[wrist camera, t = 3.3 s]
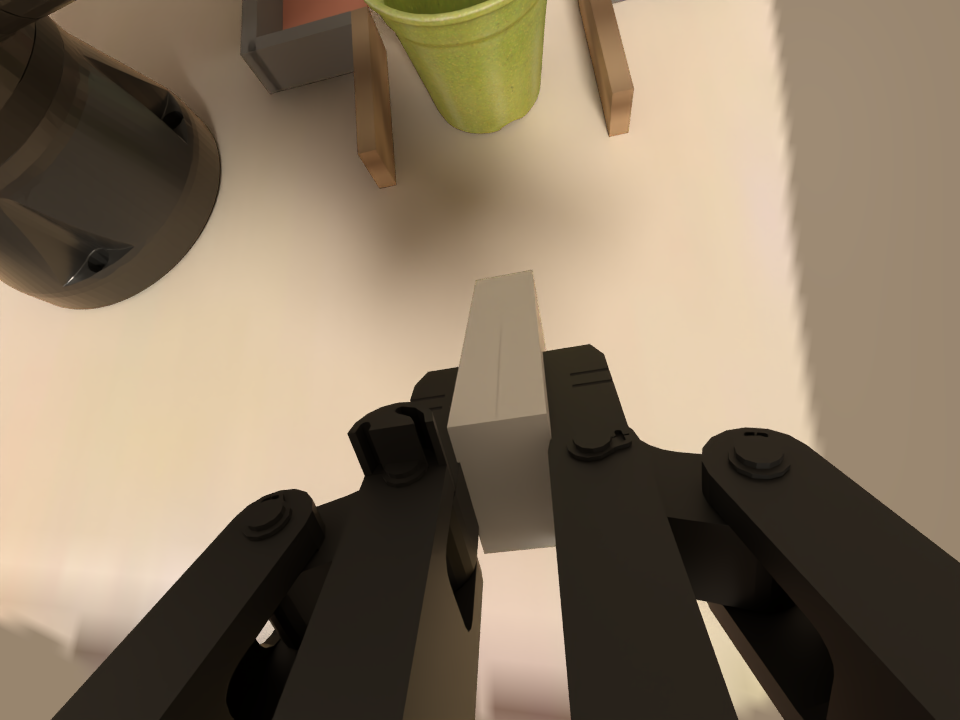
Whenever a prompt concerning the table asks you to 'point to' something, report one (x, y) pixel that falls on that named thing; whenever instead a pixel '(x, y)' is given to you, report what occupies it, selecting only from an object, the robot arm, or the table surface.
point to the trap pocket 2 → (297, 40)
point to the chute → (376, 97)
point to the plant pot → (473, 55)
